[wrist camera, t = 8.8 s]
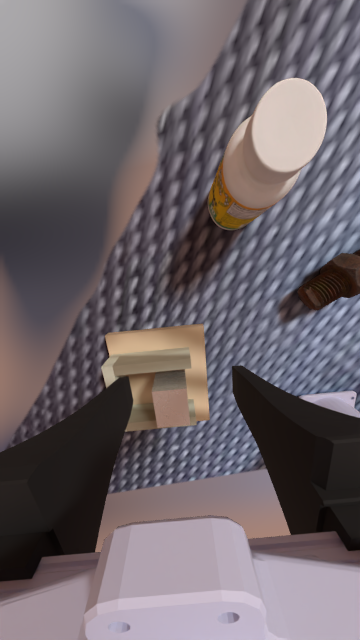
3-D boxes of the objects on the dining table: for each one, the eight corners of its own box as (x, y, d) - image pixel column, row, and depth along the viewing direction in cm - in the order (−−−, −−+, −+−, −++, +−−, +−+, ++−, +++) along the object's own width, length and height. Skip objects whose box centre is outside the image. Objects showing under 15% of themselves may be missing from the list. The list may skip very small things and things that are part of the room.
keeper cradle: (208, 414, 25) (214, 439, 21) (127, 421, 25) (118, 448, 21) (202, 323, 21) (207, 334, 18) (108, 333, 22) (93, 345, 18)
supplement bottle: (247, 236, 19) (315, 199, 10) (201, 225, 19) (225, 175, 9) (263, 180, 18) (360, 76, 8) (214, 167, 17) (257, 42, 8)
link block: (187, 393, 23) (190, 424, 18) (161, 395, 23) (157, 427, 18) (184, 363, 22) (186, 388, 17) (157, 365, 22) (151, 391, 17)
